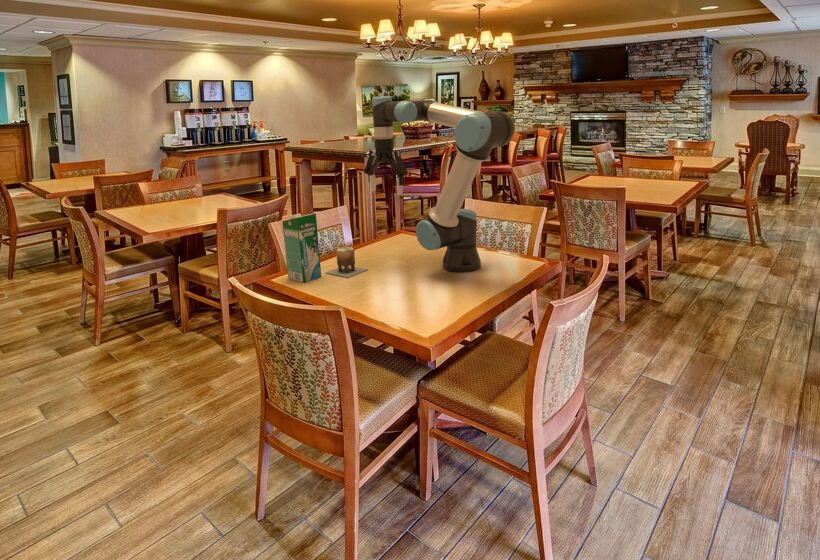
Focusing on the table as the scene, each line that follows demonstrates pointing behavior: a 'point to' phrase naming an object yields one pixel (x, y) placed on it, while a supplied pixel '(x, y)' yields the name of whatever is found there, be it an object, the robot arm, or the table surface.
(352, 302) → the table surface
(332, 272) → the mat
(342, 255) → the footstool
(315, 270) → the milk carton
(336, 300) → the table surface
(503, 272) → the table surface
